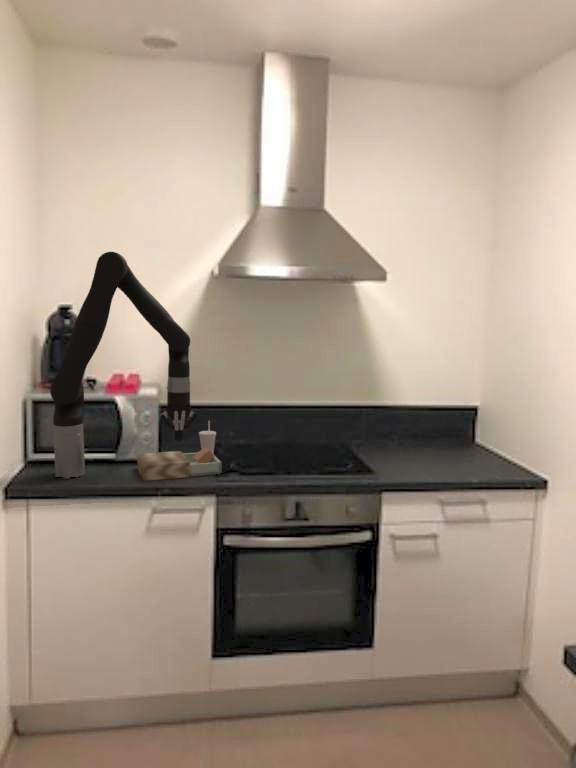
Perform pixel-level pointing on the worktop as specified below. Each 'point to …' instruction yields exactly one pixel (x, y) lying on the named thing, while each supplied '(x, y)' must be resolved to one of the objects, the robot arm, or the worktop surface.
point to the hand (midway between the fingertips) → (178, 440)
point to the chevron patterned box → (163, 465)
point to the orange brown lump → (203, 456)
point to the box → (203, 466)
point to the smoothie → (207, 438)
